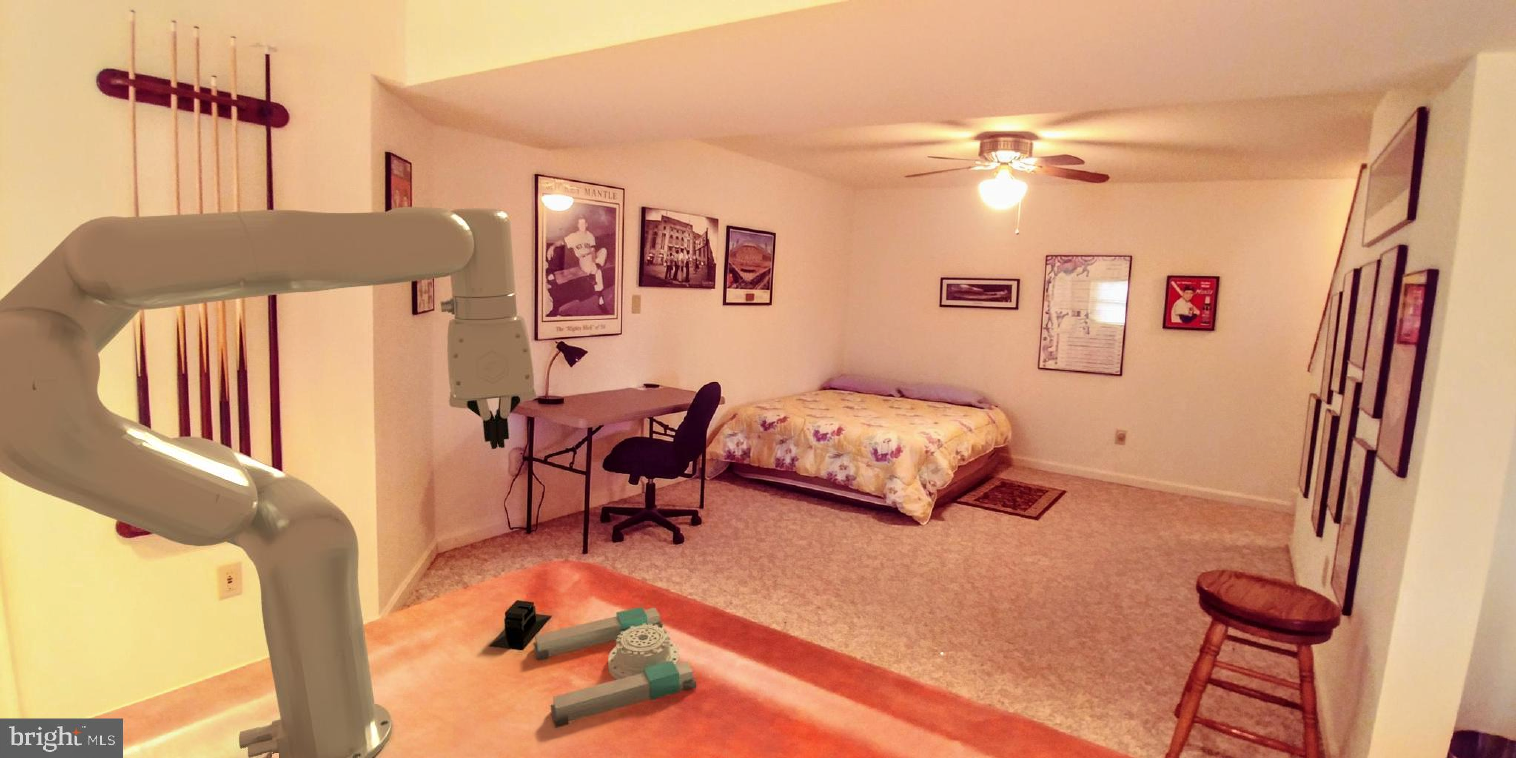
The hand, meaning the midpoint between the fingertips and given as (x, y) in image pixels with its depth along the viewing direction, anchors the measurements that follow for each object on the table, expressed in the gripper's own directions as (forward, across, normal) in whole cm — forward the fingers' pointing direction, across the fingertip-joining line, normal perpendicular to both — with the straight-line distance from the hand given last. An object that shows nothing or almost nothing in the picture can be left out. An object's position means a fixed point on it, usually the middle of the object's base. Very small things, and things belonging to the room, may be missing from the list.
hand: (497, 445), depth 98 cm
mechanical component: (+33, +16, -9) cm, 38 cm away
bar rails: (+32, +12, -8) cm, 35 cm away
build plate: (+33, +2, +7) cm, 34 cm away
